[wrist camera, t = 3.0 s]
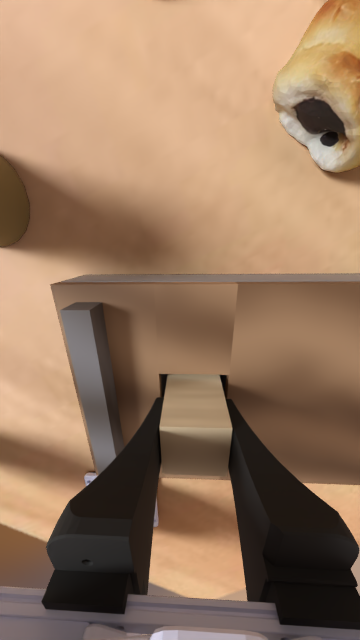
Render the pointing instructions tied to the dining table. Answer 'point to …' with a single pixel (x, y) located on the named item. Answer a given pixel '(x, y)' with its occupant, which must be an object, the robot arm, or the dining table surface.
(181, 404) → the block
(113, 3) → the dining table surface
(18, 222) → the olive pawn figure
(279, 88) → the pastry
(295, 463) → the lid
